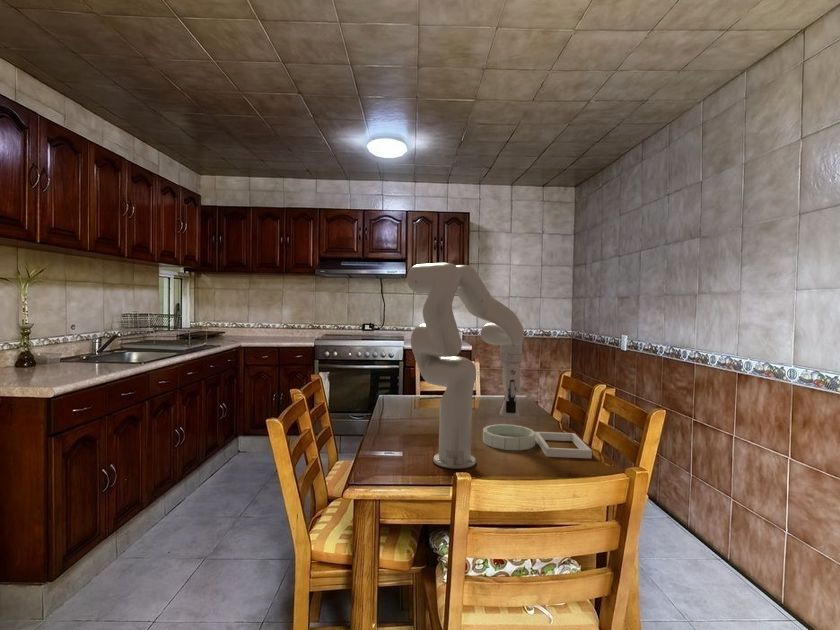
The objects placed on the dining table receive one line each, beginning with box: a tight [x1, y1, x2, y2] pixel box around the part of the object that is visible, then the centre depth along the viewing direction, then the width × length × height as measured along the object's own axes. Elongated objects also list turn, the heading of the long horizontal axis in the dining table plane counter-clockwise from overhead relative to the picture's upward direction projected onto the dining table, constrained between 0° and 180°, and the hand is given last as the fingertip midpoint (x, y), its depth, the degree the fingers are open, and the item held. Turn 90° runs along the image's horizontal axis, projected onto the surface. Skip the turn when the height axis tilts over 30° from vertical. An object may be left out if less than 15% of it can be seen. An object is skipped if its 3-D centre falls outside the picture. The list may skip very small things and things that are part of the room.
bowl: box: [482, 423, 536, 451], centre depth 161 cm, size 17×17×4 cm
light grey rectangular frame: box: [534, 431, 593, 459], centre depth 156 cm, size 20×14×2 cm
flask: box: [498, 388, 521, 419], centre depth 161 cm, size 7×7×10 cm
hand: (509, 410), depth 161 cm, fingers closed on flask, 4 cm apart
